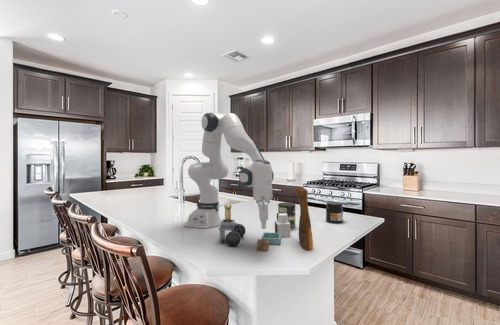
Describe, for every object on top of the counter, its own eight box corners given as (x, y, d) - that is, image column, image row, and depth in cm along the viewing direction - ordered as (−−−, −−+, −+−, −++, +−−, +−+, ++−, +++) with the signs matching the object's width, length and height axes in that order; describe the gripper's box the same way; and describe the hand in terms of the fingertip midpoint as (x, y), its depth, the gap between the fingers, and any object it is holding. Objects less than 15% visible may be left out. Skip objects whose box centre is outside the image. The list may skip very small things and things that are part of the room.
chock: (257, 250, 113) (256, 242, 113) (258, 247, 117) (258, 239, 117) (268, 251, 113) (267, 242, 112) (268, 248, 117) (268, 239, 116)
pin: (223, 225, 125) (223, 206, 125) (225, 223, 129) (225, 204, 129) (230, 226, 125) (230, 206, 124) (232, 224, 128) (232, 205, 128)
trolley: (217, 246, 119) (216, 225, 119) (225, 236, 134) (225, 217, 133) (239, 247, 118) (239, 226, 117) (245, 237, 132) (245, 218, 132)
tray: (261, 244, 122) (261, 237, 122) (263, 237, 131) (263, 232, 130) (280, 245, 120) (280, 238, 120) (280, 238, 129) (280, 233, 129)
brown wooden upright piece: (300, 252, 111) (300, 189, 111) (294, 237, 130) (294, 184, 130) (315, 252, 111) (315, 189, 110) (307, 238, 130) (307, 184, 129)
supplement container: (343, 224, 155) (343, 205, 154) (325, 223, 158) (325, 204, 158) (342, 220, 165) (342, 202, 164) (326, 219, 168) (326, 201, 168)
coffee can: (295, 225, 153) (295, 202, 152) (295, 230, 143) (295, 206, 142) (278, 224, 155) (278, 202, 154) (277, 229, 145) (277, 205, 144)
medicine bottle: (274, 233, 139) (274, 211, 138) (287, 232, 139) (287, 211, 139) (277, 237, 131) (277, 214, 131) (290, 236, 132) (290, 214, 132)
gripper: (271, 199, 104) (271, 232, 104) (268, 192, 124) (268, 220, 124) (256, 199, 104) (256, 232, 104) (255, 192, 124) (256, 220, 124)
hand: (263, 225), depth 114 cm, fingers open, 8 cm apart
